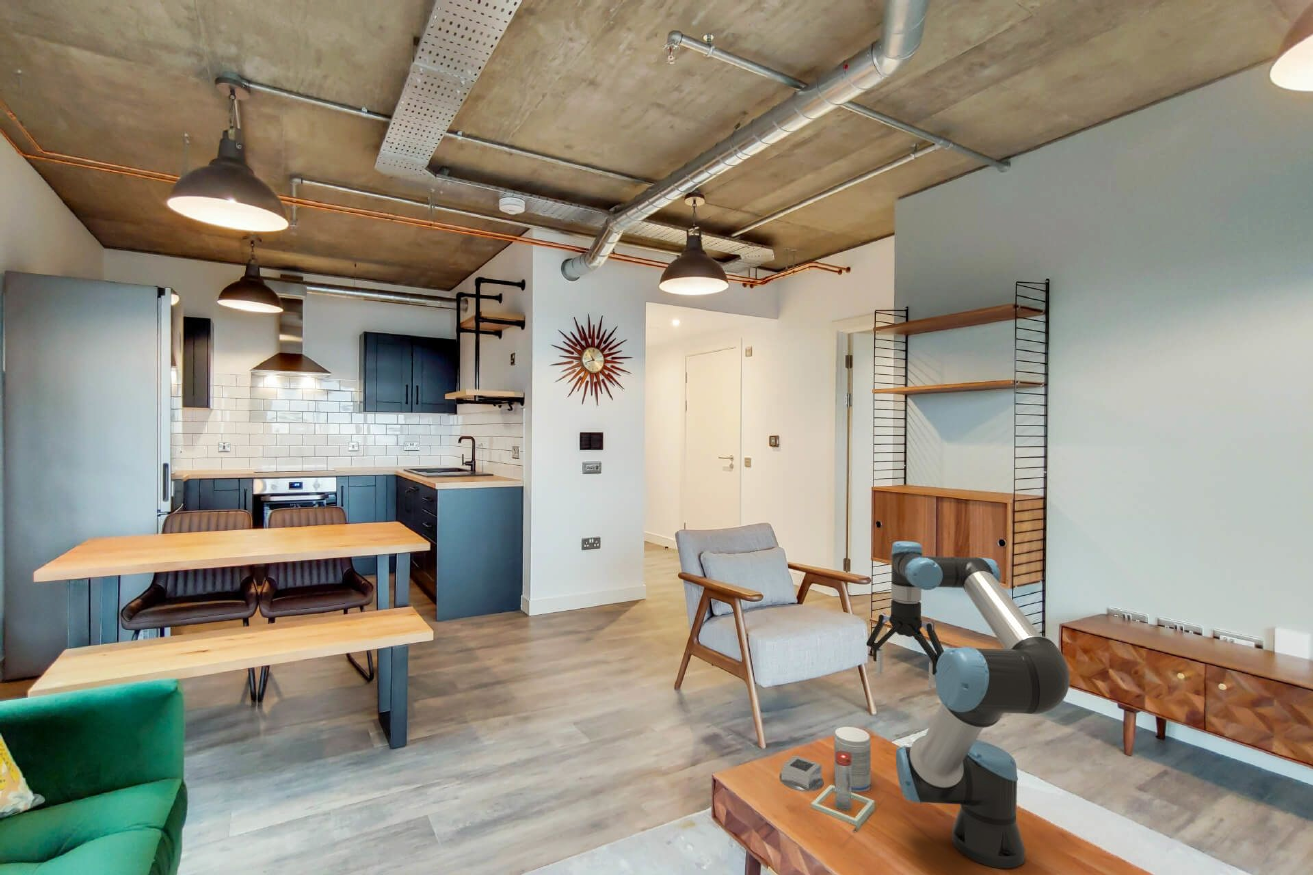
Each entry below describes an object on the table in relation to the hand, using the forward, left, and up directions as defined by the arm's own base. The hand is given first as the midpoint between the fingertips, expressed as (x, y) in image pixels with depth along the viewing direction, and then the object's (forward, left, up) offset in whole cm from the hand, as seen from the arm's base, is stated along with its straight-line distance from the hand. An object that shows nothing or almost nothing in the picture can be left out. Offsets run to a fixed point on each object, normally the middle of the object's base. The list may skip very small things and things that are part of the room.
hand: (904, 680), depth 171 cm
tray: (+10, +16, -32) cm, 37 cm away
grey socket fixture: (+24, +11, -32) cm, 41 cm away
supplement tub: (+13, +3, -32) cm, 34 cm away
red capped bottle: (+10, +16, -31) cm, 36 cm away
